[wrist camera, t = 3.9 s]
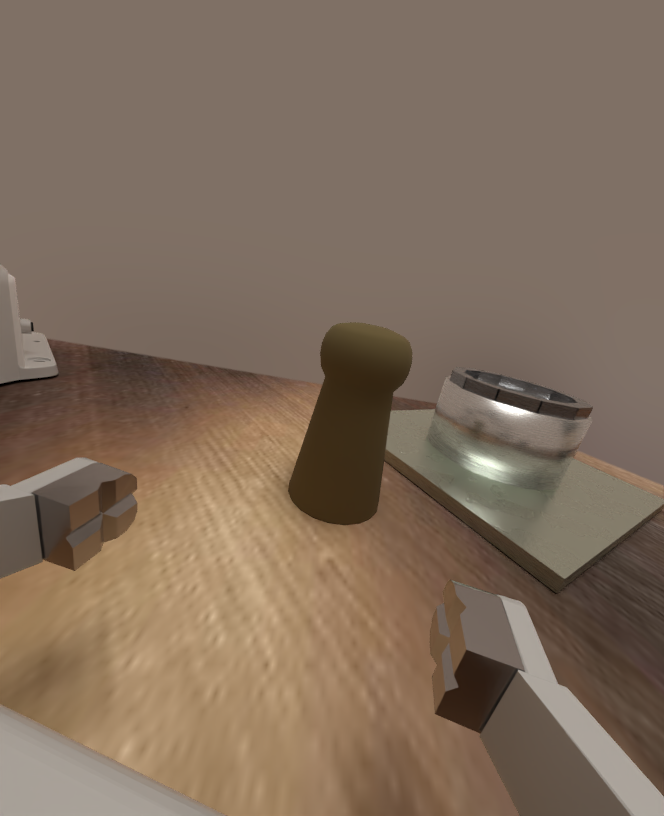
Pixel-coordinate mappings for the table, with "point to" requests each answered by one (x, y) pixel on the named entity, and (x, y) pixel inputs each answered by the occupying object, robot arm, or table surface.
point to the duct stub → (518, 472)
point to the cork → (350, 423)
